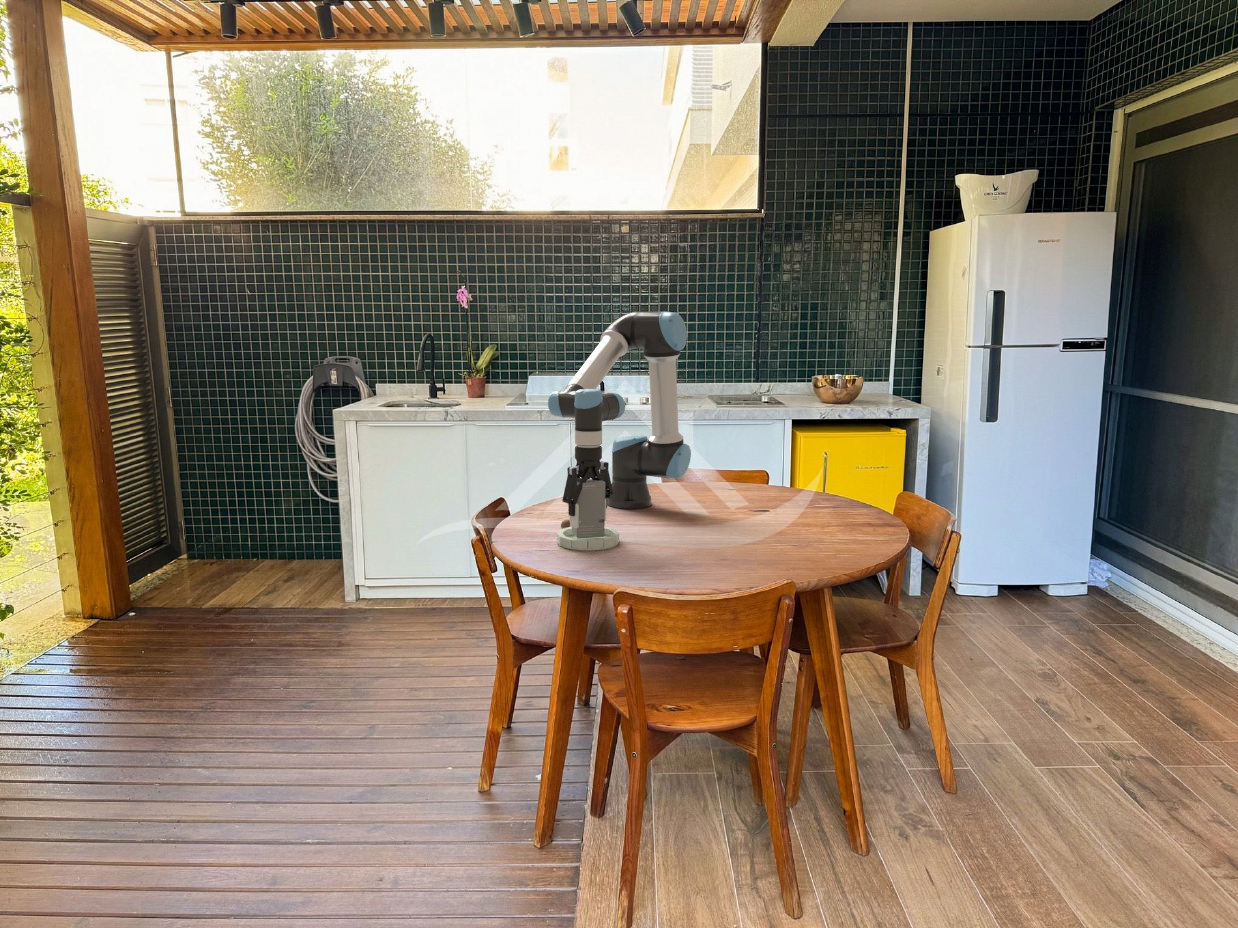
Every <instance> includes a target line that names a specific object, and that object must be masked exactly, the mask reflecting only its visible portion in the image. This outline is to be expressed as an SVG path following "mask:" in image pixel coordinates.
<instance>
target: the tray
mask: <svg viewBox="0 0 1238 928" xmlns="http://www.w3.org/2000/svg"><path fill="white" fill-rule="evenodd" d="M556 540H557V544H558V546H559V547H561V548H563V549H567V550H572V551H581V552H593V551H595V552H597V551H598V552H599V551H604V550H609V549H612V548H615V547H616V546H618V544H619V541H620V532H619V530H616V529H615V528H613V527H608V526H604V537H594V538H581V539H577V537H576V536H575V535H574V534H573V533H572V527H568V528H564V529H562V528H560V529H559V530H558V531H557V532H556Z"/></svg>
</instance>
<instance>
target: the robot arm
mask: <svg viewBox="0 0 1238 928" xmlns="http://www.w3.org/2000/svg"><path fill="white" fill-rule="evenodd" d="M599 340H600V342H599V343H598V345H597V346H596V347H595V349H594V350H593V351H592V353H591V354H590V355H589V356H588V357H587V359H586V360H585V362H584V363H583V364H582V365H581V367H580V368H579V370H578V371H577V372H576V373H575V374H574V376H573V377H572V379H571V380H570V381H569V383H568V384H567V386H566V387H565V388H564V389H563V390H562V389H561V390H554V391H552V392H551V393H550V394H549V396H548V399H547V407H548V410H549V412H550V414H551V415H553V416H554V417H560V418H570V419H572V418H573V419H574V444H575V447H574V459H575V460H576V464H575V466H573V467H572V466H567V476H566V481H565V486H564V491H563V495H562V499H561V500H562V502H563V503H566V504H567V506H568V511H567V513H568V516H569V520H570V527H574V528H579V505H578V504H576V503H577V500H578V498H579V495H580V493H581V490H582V486H583V483H586V481H587V480H588V479H593V480H598V481H599V480H602V481H604V482H605V522H606V521H607V509H608V506H609V507H612V508H616V509H625V510H626V509H627V510H628V509H631V510H634V509H636V510H637V509H643V508H648V507H651V506H652V496H651V495H650V491H649V486H648V483H647V477H653V478H654V477H656V478H663V479H666V480H668V479H669V480H670V479H673V480H674V479H675V480H676V479H677V480H678V479H681V478H683V476H685V474H686V472H687V470H688V469H689V466H690V463H691V458H692V450H691V447H690V445H689V444H687V443H684V442H685V441H684V436H683V435H682V434H681V433H680V432H679V414H678V413H679V412H678V409H679V408H678V406H679V405H678V386H677V384H678V383H677V382H678V381H677V380H678V379H677V365H676V364H677V361H676V360H677V359H678V358H679V357H680V355H681V351H682V350H684V348H685V346H686V344H687V340H688V331H687V325H686V323H685V321H684V319H683V317H682V316H681V315H680V314H679V313H677V312H671V311H633V312H629V313H626V314H624V315H622V316H620V317H619V318H617V319H616V320H614V321H613V322H612V323H611V324H610V325H609V326H607V327H606V328H605V330H604V331H603V332H602V334H601V336H600V339H599ZM634 349H638V350H643V351H642V352H643V357H644V358H645V359H646V360H647V361H648V369H649V370H648V372H649V373H648V374H649V375H648V376H649V392H650V413H651V414H650V415H651V417H650V418H651V434H650V435H649V436H647V435H631V436H623V437H619V438H616V439H614V440H613V442H612V450H611V453H612V454H611V456H612V457H611V458H612V461H611V462H612V463H611V465H612V466H611V470H612V471H611V472H612V473H611V475H612V479H611V477H610V476H611V475H610V472H609V465H610V464H609V462H608V461H602V458H603V447H602V444H603V422H605V421H613V420H616V419H618V418H620V417H622V416H623V414H624V413H625V411H626V402H625V399H624V397H622V395H620V394H619V393H616V392H607V393H603V392H602V390H601V389H597V388H598V387H599V386H600V384H601V383H602V381H604V379H605V377H606V376H607V375H608V373H609V372H610V371H611V369H612V368H613V367H614V365H615V364H616V362H617V361H618V360H619V359H620V357H623V356H625V355H626V354H627V353H628V352H629V351H630V350H634ZM577 482H579V483H580V484H579V485H578V486H577Z"/></svg>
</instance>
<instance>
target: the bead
mask: <svg viewBox="0 0 1238 928" xmlns="http://www.w3.org/2000/svg"><path fill="white" fill-rule="evenodd" d="M568 527H570V519H564V520H563V521H561V523H560V529H564V528H568Z"/></svg>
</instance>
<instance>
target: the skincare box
mask: <svg viewBox="0 0 1238 928" xmlns="http://www.w3.org/2000/svg"><path fill="white" fill-rule="evenodd" d="M579 484H580V483H579V482H577V486H578V485H579ZM576 504H578V505H579V528H574V527H572V533H573V534H574V535H575V536H576V537H577V539H581V538H594V537H604V526H605V522H606V521H605V482H604V481H602V480H599V481H598V480H593V479H591V478H590V479H588V480H587V481H586V483H583V486H582V490H581V493H580V495H579V498H578V500H577V503H576ZM605 527H606V526H605Z"/></svg>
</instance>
